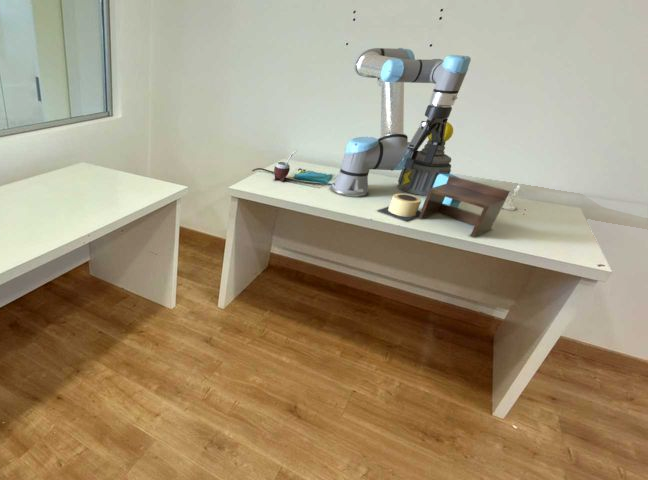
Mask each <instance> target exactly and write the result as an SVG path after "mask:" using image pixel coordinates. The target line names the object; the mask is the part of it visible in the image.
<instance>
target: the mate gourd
mask: <svg viewBox="0 0 648 480" xmlns="http://www.w3.org/2000/svg"><path fill="white" fill-rule="evenodd" d="M297 152H299V150H297V149H296V150H295V151H294V152H292V153H290V155H289V156H288V159H287V161H286V162H285V161H279V162H276V164H275V165H274V169H273V172H274V173H275V174H274V173H273V174H274V179H273V181H274V182H275V181H280V182H282V183H284V182H285V180H286V179H285V178H287V176H289V173H290V170H291V168H290V167H291V166H290V164H289V161H290V160H291V158H292V157H293V155H295V154H296V153H297Z"/></svg>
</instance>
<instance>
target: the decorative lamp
mask: <svg viewBox="0 0 648 480" xmlns="http://www.w3.org/2000/svg"><path fill="white" fill-rule="evenodd" d="M453 134H454V127H453V125H452V124H451V123H450V122H449V121H447V123H446V128H445V135H444V141H443V144H442V145H441V146H439V145H438V148H437V151H436V153H435V156H434V158H433V161H432V163H428V162H424V159H425V156H426V154H427V151H428V149H429V146H430V144H432V137H431V135H429V136H428V137H427V139H428V140H427V141H426V143H425V144H424V146H423V148H422V149H421V150H417V151H418V154H417V157H416V159H415V162H414V165H413V167H412V169H410V168H407V167H405V168H404V169H402V170H400V171H401V172H400V174H399V177H398V180H397V187H398V188H399V190H402V191H404V192H406V193H408V194H412V195H418V196H426V197H427V195H428V192H429V190H430V189H431V188H433V185H434V183H435V180H436V178H437V176H438V175H439V174H451V171H452V164H451V162H452V157H451V156H449V155H447V154H446V153H445V150H446V146H445V145H446V142H447V141H449V140H450V139H451V138H452V137H453ZM440 139H441V138H440ZM432 145H433V144H432Z"/></svg>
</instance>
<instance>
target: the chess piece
mask: <svg viewBox="0 0 648 480" xmlns="http://www.w3.org/2000/svg"><path fill="white" fill-rule="evenodd" d="M520 188H521V184H518V185H517V186H516V188H513V193H511V194H510V195H511V197H510V198H509V200H508V201H507V202H505V203H504V204H503V206H502V208H501V209H504V210H507V211H514V210H516V206H515V205H514V201H515V199H516V197H518V193H519V192H520V191H521V189H520Z"/></svg>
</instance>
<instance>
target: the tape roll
mask: <svg viewBox="0 0 648 480" xmlns="http://www.w3.org/2000/svg"><path fill="white" fill-rule="evenodd" d="M421 203H422V198H421V197H418V196H416V195H414V194H410V193H394V194H393V195H392V197H391V201H390V203H389V205H388V207H389V209H388V211H389V212H391V213H393V214H395V215H398V216H404V217H413V216H415V215H416V213H417V211H419V208H420V206H421Z"/></svg>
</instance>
